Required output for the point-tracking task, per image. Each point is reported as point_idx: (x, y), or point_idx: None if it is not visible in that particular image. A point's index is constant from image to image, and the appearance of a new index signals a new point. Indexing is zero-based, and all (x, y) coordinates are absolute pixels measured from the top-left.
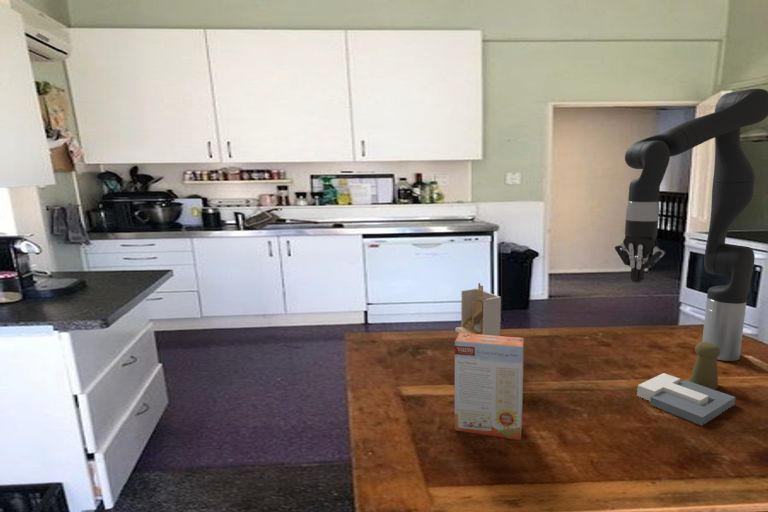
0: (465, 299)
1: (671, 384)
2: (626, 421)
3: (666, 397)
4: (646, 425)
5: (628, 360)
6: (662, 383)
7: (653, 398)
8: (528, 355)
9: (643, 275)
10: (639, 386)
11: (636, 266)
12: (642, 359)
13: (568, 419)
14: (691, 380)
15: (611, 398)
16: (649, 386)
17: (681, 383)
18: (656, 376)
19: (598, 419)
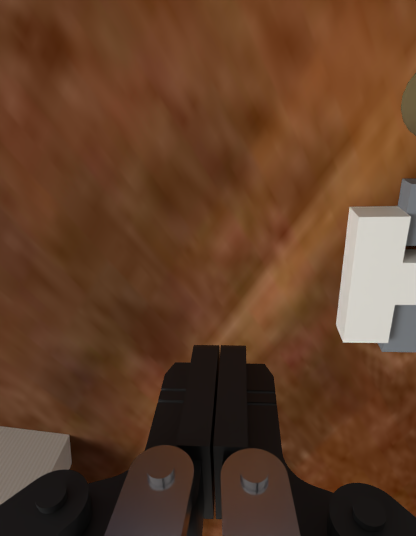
0: None
1: (405, 274)
2: (370, 425)
3: (411, 327)
4: (404, 412)
5: (194, 124)
6: (384, 287)
7: (389, 351)
8: (27, 334)
9: (276, 414)
10: (347, 340)
11: (200, 526)
12: (216, 69)
13: None
14: (414, 131)
15: (302, 373)
16: (367, 328)
17: (413, 217)
18: (354, 257)
19: (330, 451)
